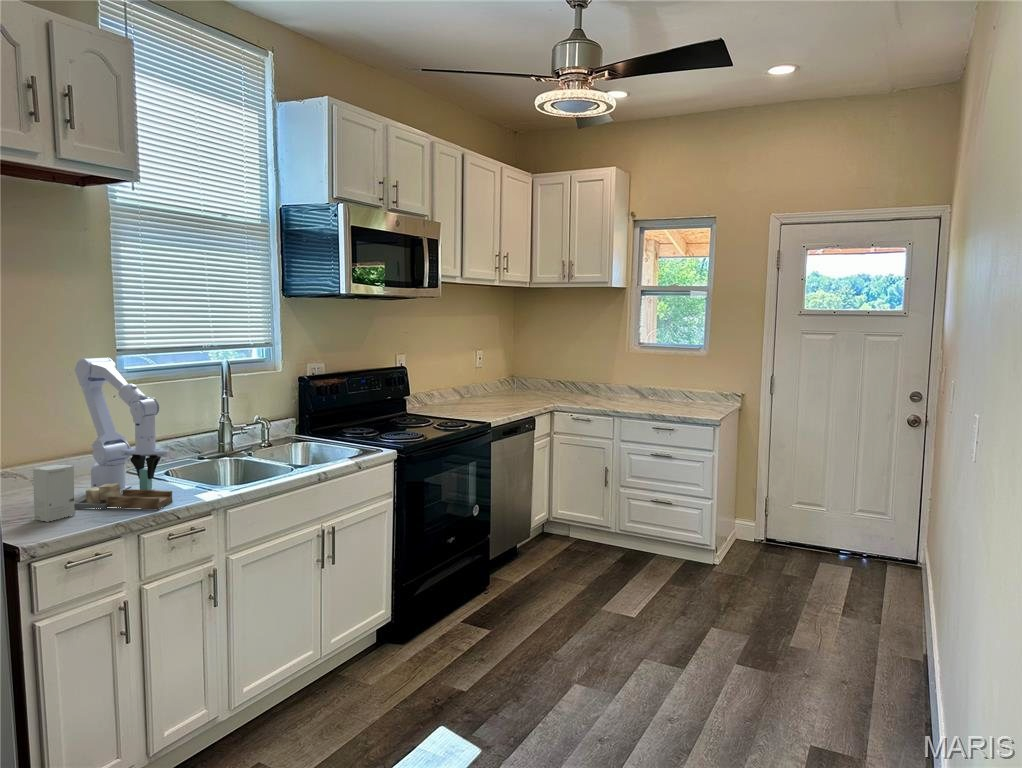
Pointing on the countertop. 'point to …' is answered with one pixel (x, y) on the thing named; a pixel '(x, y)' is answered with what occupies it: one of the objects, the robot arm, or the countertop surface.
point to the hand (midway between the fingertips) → (146, 478)
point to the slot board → (141, 499)
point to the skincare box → (53, 492)
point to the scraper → (145, 480)
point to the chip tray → (91, 504)
